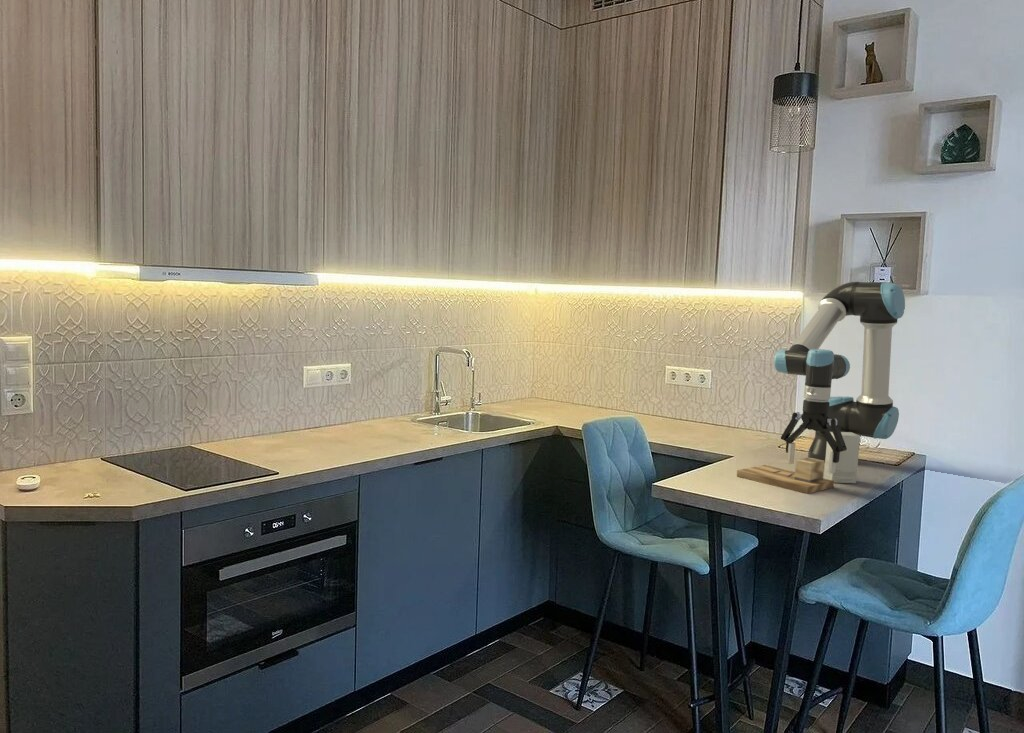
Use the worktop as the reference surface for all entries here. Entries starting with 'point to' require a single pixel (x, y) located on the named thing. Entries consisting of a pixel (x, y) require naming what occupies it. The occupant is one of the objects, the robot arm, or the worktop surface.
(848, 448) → the skincare box
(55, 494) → the worktop surface
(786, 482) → the board
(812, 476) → the block
